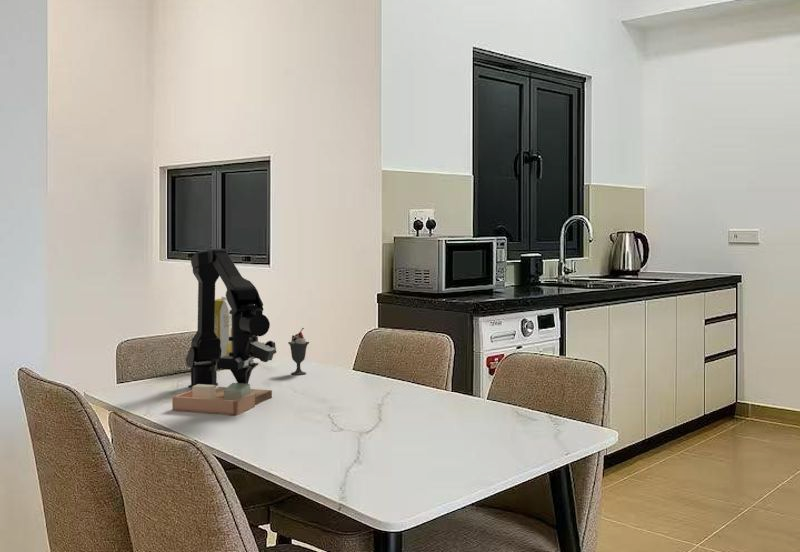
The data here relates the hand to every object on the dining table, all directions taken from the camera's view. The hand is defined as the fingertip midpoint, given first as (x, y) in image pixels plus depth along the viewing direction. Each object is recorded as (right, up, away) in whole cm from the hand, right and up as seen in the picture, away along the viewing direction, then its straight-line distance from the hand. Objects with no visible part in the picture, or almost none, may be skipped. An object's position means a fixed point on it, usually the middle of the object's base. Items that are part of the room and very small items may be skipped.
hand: (243, 390), depth 209 cm
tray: (-6, -4, -7) cm, 10 cm away
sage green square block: (-1, -1, -3) cm, 3 cm away
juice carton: (-19, 0, +57) cm, 60 cm away
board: (-3, -3, +4) cm, 6 cm away
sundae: (+9, -1, +44) cm, 45 cm away
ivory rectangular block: (-9, 0, -3) cm, 10 cm away
